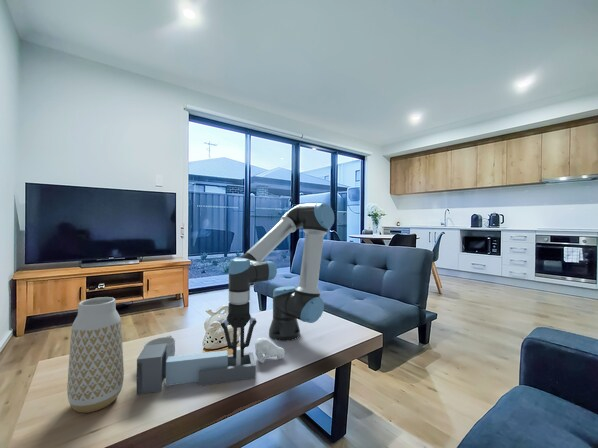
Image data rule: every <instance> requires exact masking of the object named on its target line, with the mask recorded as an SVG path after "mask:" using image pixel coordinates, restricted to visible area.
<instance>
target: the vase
mask: <svg viewBox="0 0 598 448" xmlns="http://www.w3.org/2000/svg"><path fill="white" fill-rule="evenodd" d="M116 307H117V306H116V298H114V297H113V296H112V297H111V296H110V297H109V296H104V297H103V296H102V297H101V296H100V297H94V298H89V299H84V300H81V301H80V302H78V305H77V315H76V317H75V319H74V321H73V322H72V324H71V333H70V340H69V341H70V342H69V343H70V344H69V356H68V357H69V359H68V370H67V371H68V372H67V384H66V385H67V386H66V387H67V390H66V392H67V394H66V395H67V400H68V403H69V405H70V407H71V408H72V409H73V410H75V411H76V412H78V413H84V414H85V413H93V412H96V411H99V410H102V409H104V408H106V407H107V406H109V405H111V404H112V403H113V402H114V401H115V400H116V399H117V397H118V396H119V395H120V393H121V391H122V389H123V386H124V378H125V377H124V376H125V373H124V371H125V368H124V366H125V365H124V350H123V348H124V347H123V331H122V329H123V328H122V318H121V316H120V314H119V312H118V310H117V309H116Z"/></svg>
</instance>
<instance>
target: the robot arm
mask: <svg viewBox="0 0 598 448" xmlns="http://www.w3.org/2000/svg"><path fill="white" fill-rule="evenodd" d="M334 224H335V213H334V210H333V208H332V206H330V205H329V204H328V203H325V202H312V203H311V202H310V203H300V204H296V205H295V206H293V207H292V208H291V209H289V210H288V211H287V212H285V213H284V214H283V215H281V217H280V218H279V221H278V222H277V223H276V224H275V225H274V226H273V227H272V228H271V229H269V231H267V233H266V234H264V236H262V237H261V238H260V239H259V240H257V242H256V243H255V244H253V245H252V246H251V248H249V249H248V250H247V251H246V252H245V253H244V254H243V255H242V256H241V257H234V258H233V259H231V260H230V261H229V265H228V306H227V307H228V308H227V309H228V310H227V311H228V312H227V316H226V319H224V320H221V321H220V326H221V328H222V329H223V331H224V335H225V336H224V337H225V340H226V345H227V347H228V348H227V349H229V350H230V349H231V350H232V355H233V358H236V366H237V365H241V357H244V353H245V348H248V347H250V343H251V339H252V335H253V332H254V331H253V330H254V327H255V326H256V324H257V323H258V321H257V319H256V318H255V317H252V315H251V314H250V313H251V312H250V308H251V307H250V303H251V302H250V300H251V299H250V298H251V297H250V296H251V295H250V293H251V291H250V289H251V287H250V286H251V285H252V284H256V283H262V282H268V281H271V280H274V279H275V278H276V276H277V270H278V268H277V265H276V264H275V263H274V262H273V261H271V260H265V259H266V257H268V255H270V253H272V252H273V251H274V250H275V249H276V248H277V247H278V246H279V245H280V244H282V242H283V241H284V240H285V239H286V238H287V237H288V236H289V235H290V234H291V233H294V232H296V231H297V230H298V229H300V228H302V231H303V232H304V243H303V250H302V251H303V252H302V258H301V265H300V266H301V267H300V274H299V275H300V276H299V281H298V286H293V285H292V286H290V285H289V286H288V285H287V286H280V287H276V288H274V290H273V292H272V294H273V295H272V320H271V323H270V326H269V329H268V336H269V338H271V339H272V340H275V341H280V342H281V341H282V342H283V341H284V342H286V341H287V340H289V341H293V340H292V339H294V340H296V339H298V338H299V337H300V336H301V329H300V326H299V322H298V320H299V321H301V322H304V323H307V324H308V323H309V324H314V323H315V322H317V321H319V319H320V318H321V317H322V315H323V313H324V311H325V302H324V300H323V299H322V298H321V291H320V289H319V288H318V287H319V286H318V285H319V279H320V271H321V261H322V252H323V245H324V239H325V238H324V237H325V236H326V235H327V234H328V231H329V229H331V228H332V227H333V225H334ZM264 260H265V261H264ZM248 323H249V325H248V326H249V327H248V329H247V334H246V338H245V327H246V326H247V324H248ZM229 325H230V326H231V327H232V342H231V336H230V334H229V329H228V328H229V327H228V326H229ZM239 328H240V330H239V331H240V334H239V336H240V339H239V340H240V341H239V344H240V345H239V346H237V345H238V329H239ZM299 335H300V336H299ZM298 336H299V337H298ZM297 337H298V338H297ZM295 338H296V339H295Z"/></svg>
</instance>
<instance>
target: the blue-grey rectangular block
mask: <svg viewBox="0 0 598 448" xmlns="http://www.w3.org/2000/svg"><path fill="white" fill-rule="evenodd" d="M228 353H229V352H228V350H226V349H225V350H219V351H208V352H199V353H191V354H190V353H189V354H181V355H180V354H179V355H174V356H170V357H168V359H167V361H166V377H165V386H173V385H181V384H188V383H193V382H194V383H195V382H196V383H197V382H199V370H205V369H213V368H221V367H228V355H229V354H228Z"/></svg>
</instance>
